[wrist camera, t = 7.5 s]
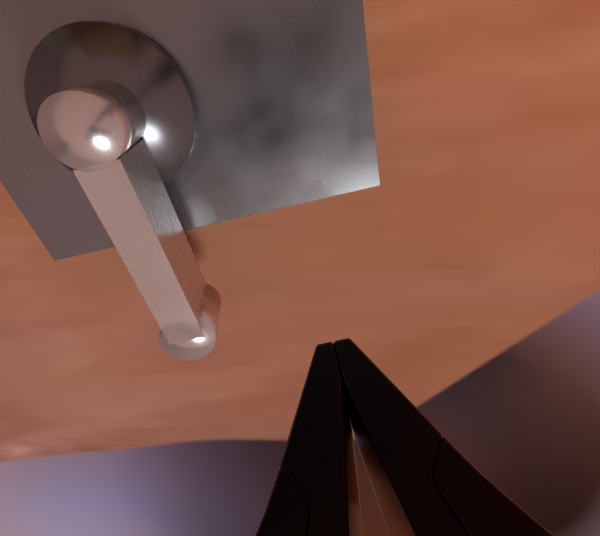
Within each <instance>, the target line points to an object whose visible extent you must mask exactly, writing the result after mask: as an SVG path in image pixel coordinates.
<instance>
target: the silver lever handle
mask: <svg viewBox="0 0 600 536" xmlns="http://www.w3.org/2000/svg"><path fill="white" fill-rule="evenodd" d="M24 92H25V101H26V105H27V109H28V113H29V116H30V118H31V121H32V124H33V126H34V128H35V130H36V132H37V133H38V135H39V137H40V138H41V140H42V141H43V143H44V145H45V146H46V148H47V149H48V150H49V151H50V153H51V154H52V155H53V156H54V157H55V158H57V159H58V160H59V162H60V163H62V164H63V165H64V166H65V167H66V168H68V169H69V170H70V171H72V172H73V173H74V174H75V176H76V177H77V179H78V181H79V183H80V185H81V186H82V188H83V190H84V192H85V193H86V195H87V197H88V199H89V201H90V202H91V204H92V206H93V208H94V210H95V211H96V213H97V215H98V217H99V219H100V220H101V222H102V224H103V226H104V228H105V229H106V231H107V233H108V235H109V236H110V238H111V240H112V242H113V244H114V245H115V247H116V249H117V251H118V253H119V254H120V256H121V258H122V260H123V262H124V263H125V265H126V267H127V269H128V270H129V272H130V274H131V276H132V278H133V279H134V281H135V283H136V285H137V287H138V288H139V290H140V292H141V294H142V296H143V297H144V299H145V301H146V303H147V304H148V306H149V308H150V310H151V312H152V313H153V315H154V317H155V319H156V321H157V322H158V324H159V326H160V328H161V331H160V334H159V342H160V345H161V347H162V348H163V350H164V351H165V352H167V353H168V354H169V355H171V356H173V357H175V358H178V359H183V360H195V359H199V358H202V357H204V356H206V355H208V354H209V353H210V352H211V351H212V349H213V348H214V345H215V339H216V332H217V326H218V319H219V313H220V306H221V298H220V295H219V293H218V292H217V290H216V289H215V288H213V287H212V286H211V285H209V284H207V283H206V282H205V279H204V277H203V275H202V272H201V270H200V268H199V265H198V263H197V261H196V258H195V256H194V254H193V251H192V249H191V247H190V244H189V242H188V240H187V237H186V235H185V233H184V230H183V228H182V226H181V223H180V221H179V219H178V216H177V214H176V212H175V209H174V207H173V205H172V202H171V200H170V198H169V195H168V193H167V191H166V188H165V186H164V183H165V182H167V181H168V180H170V179H171V178H172V177H173V176H174V175H176V174H177V173H178V171H179V170H180V169H181V168H182V167H183V165H184V163H185V162H186V160H187V158H188V157H189V155H190V153H191V151H192V148H193V146H194V142H195V138H196V132H197V114H196V107H195V103H194V99H193V96H192V93H191V90H190V88H189V85H188V83H187V81H186V80H185V78H184V76H183V74H182V72H181V71H180V70H179V68H178V67H177V65H176V64H175V63H174V61H173V60H172V59H171V58H170V57H169V56H168V54H167V53H165V52H164V51H163V50H162V49H161V48H160V47H159V46H158V45H157V44H155V43H154V42H153V41H151V40H150V39H149V38H147V37H145V36H144V35H142V34H140V33H138V32H137V31H134V30H132V29H130V28H127V27H125V26H121V25H118V24H114V23H107V22H99V21H80V22H74V23H69V24H66V25H64V26H61V27H59V28H57V29H55V30H53V31H51V32H50V33H49V34H47V35H46V36H45V37H44V38H43V39H42V40H41V41H40V42H39V43H38V45H37V46H36V47H35V49H34V50H33V52H32V54H31V56H30V58H29V61H28V64H27V67H26V72H25V78H24Z"/></svg>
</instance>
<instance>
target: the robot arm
mask: <svg viewBox="0 0 600 536" xmlns="http://www.w3.org/2000/svg"><path fill="white" fill-rule="evenodd" d="M350 421H351V422H350ZM351 425H352V427H351ZM352 429H353V432H354V435H355V438H356V441H357V444H358V447H359V449H360V452H361V455H362V458H363V460H364V463H365V466H366V469H367V472H368V475H369V477H370V480H371V483H372V486H373V489H374V491H375V494H376V497H377V500H378V503H379V505H380V508H381V511H382V514H383V517H384V519H385V522H386V525H387V528H388V531H389V533H390V536H553V535H552V534H551V533H549V532H548V531H547V530H546V529H545V528H544V527H542V526H541V525H540V524H539V523H538V522H537V521H535V520H534V519H533V518H532V517H531V516H529V515H528V514H527V513H526V512H525V511H524V510H522V509H521V508H520V507H519V506H518V505H516V504H515V503H514V502H513V501H512V500H510V499H509V498H508V497H507V496H506V495H505V494H503V493H502V492H501V491H500V490H499V489H498V488H497V487H496V486H494V485H493V484H492V483H491V482H490V481H489V480H488V479H487V478H485V477H484V476H483V475H482V474H481V473H480V472H479V471H478V470H477V469H476V468H474V466H473V465H472V464H471V463H470V462H469V461H468V460H467V459H466V458H465V457H463V455H461V453H459V452H458V451H457V449H456V448H455V447H454V446H452V444H451V443H450V442H449V441H448V440H447V439H446V438H445V437H442V434H441V433H440V432H439V431H438V430H437V429H436V428H435V427H434V426H433V425H432V424H431V423H430V422H429V421H428V420H427V419H426V417H425V416H424V415H423V414H422V413H421V412H420V411H419V410H418V409H417V408H416V407H415V406H414V405H413V404H412V403H411V402H410V401H409V400H408V399H407V398H406V397H405V395H404V394H403V393H402V392H401V391H400V390H399V389H398V388H397V387H396V386H395V385H394V384H393V383H392V382H391V381H390V380H389V379H388V378H387V377H386V376H385V375H384V374H383V373H382V372H381V370H380V369H379V368H378V367H377V366H376V365H375V364H374V363H373V362H372V361H371V360H370V359H369V358H368V357H367V356H366V355H365V354H364V353H363V352H362V351H361V350H360V349H359V348H358V346H357V345H356V344H355V343H354V342H353V341H352V340H351V339H348V338H347V339H342V340H337V341H335V342H334V344H333V343H332V342H328V343H323V344H319V345H317V346H316V349H315V352H314V355H313V359H312V362H311V365H310V368H309V372H308V375H307V378H306V382H305V385H304V388H303V391H302V395H301V398H300V401H299V405H298V408H297V411H296V414H295V418H294V421H293V424H292V428H291V431H290V434H289V437H288V441H287V444H286V447H285V451H284V454H283V457H282V460H281V464H280V470H279V471H278V473H277V477H276V480H275V483H274V486H273V489H272V492H271V495H270V498H269V501H268V504H267V507H266V510H265V513H264V516H263V518H262V521H261V523H260V526H259V528H258V531H257V533H256V536H363V528H362V519H361V509H360V500H359V490H358V480H357V471H356V461H355V451H354V442H353V434H352Z"/></svg>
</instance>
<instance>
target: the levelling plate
mask: <svg viewBox="0 0 600 536" xmlns="http://www.w3.org/2000/svg"><path fill="white" fill-rule="evenodd" d="M80 21H99V22H107V23H114V24H118V25H121V26H125V27H127V28H130V29H132V30H134V31H137V32H138V33H140V34H142V35H144V36H145V37H147V38H149V39H150V40H151V41H153V42H154V43H155V44H157V45H158V46H159V47H160V48H161V49H162V50H163V51H164V52H165V53H167V54H168V56H169V57H170V58H171V59H172V60H173V61H174V63H175V64H176V65H177V67H178V68H179V70H180V71H181V72H182V74H183V76H184V78H185V80H186V81H187V83H188V85H189V88H190V90H191V93H192V96H193V99H194V103H195V107H196V114H197V132H196V138H195V142H194V146H193V148H192V151H191V153H190V155H189V157H188V158H187V160H186V162H185V163H184V165H183V167H182V168H181V169H180V170H179V171H178V173H177V174H176V175H174V176H173V177H172V178H171V179H170V180H168V181H167V182H165V183H164V186H165V188H166V191H167V193H168V195H169V198H170V200H171V202H172V205H173V207H174V209H175V212H176V214H177V216H178V219H179V221H180V223H181V226H182V228H183V230H188V229H193V228H197V227H201V226H206V225H210V224H214V223H219V222H223V221H227V220H231V219H236V218H240V217H244V216H249V215H253V214H257V213H262V212H266V211H270V210H275V209H279V208H283V207H288V206H292V205H296V204H301V203H305V202H309V201H314V200H318V199H322V198H326V197H331V196H335V195H339V194H344V193H348V192H352V191H357V190H361V189H365V188H370V187H374V186H378V185H380V183H379V172H378V162H377V151H376V141H375V130H374V120H373V109H372V98H371V88H370V77H369V67H368V56H367V45H366V35H365V24H364V14H363V3H362V0H0V181H1V182H2V184H3V185H4V187H5V188H6V190H7V191H8V193H9V194H10V196H11V197H12V199H13V200H14V202H15V203H16V204H17V206H18V207H19V209H20V210H21V212H22V213H23V215H24V216H25V218H26V219H27V221H28V222H29V224H30V225H31V227H32V228H33V229H34V231H35V232H36V234H37V235H38V237H39V238H40V240H41V241H42V243H43V244H44V246H45V247H46V249H47V250H48V252H49V253H50V255H51V256H52V257H53V259H54V260H59V259H63V258H67V257H72V256H76V255H80V254H85V253H89V252H93V251H98V250H102V249H106V248H111V247H115V245H114V244H113V242H112V240H111V238H110V236H109V235H108V233H107V231H106V229H105V228H104V226H103V224H102V222H101V220H100V219H99V217H98V215H97V213H96V211H95V210H94V208H93V206H92V204H91V202H90V201H89V199H88V197H87V195H86V193H85V192H84V190H83V188H82V186H81V185H80V183H79V181H78V179H77V177H76V176H75V174H74V173H73V172H72V171H70V170H69V169H68V168H66V167H65V166H64V165H63V164H62V163H60V162H59V160H58V159H57V158H55V157H54V156H53V155H52V154H51V153H50V151H49V150H48V149H47V148H46V146H45V145H44V143H43V141H42V140H41V138H40V137H39V135H38V133H37V132H36V130H35V128H34V126H33V124H32V121H31V118H30V116H29V113H28V109H27V105H26V101H25V92H24V78H25V72H26V67H27V64H28V61H29V58H30V56H31V54H32V52H33V50H34V49H35V47H36V46H37V45H38V43H39V42H40V41H41V40H42V39H43V38H44V37H45V36H46V35H47V34H49V33H50V32H51V31H53V30H55V29H57V28H59V27H61V26H64V25H66V24H69V23H74V22H80Z"/></svg>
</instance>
